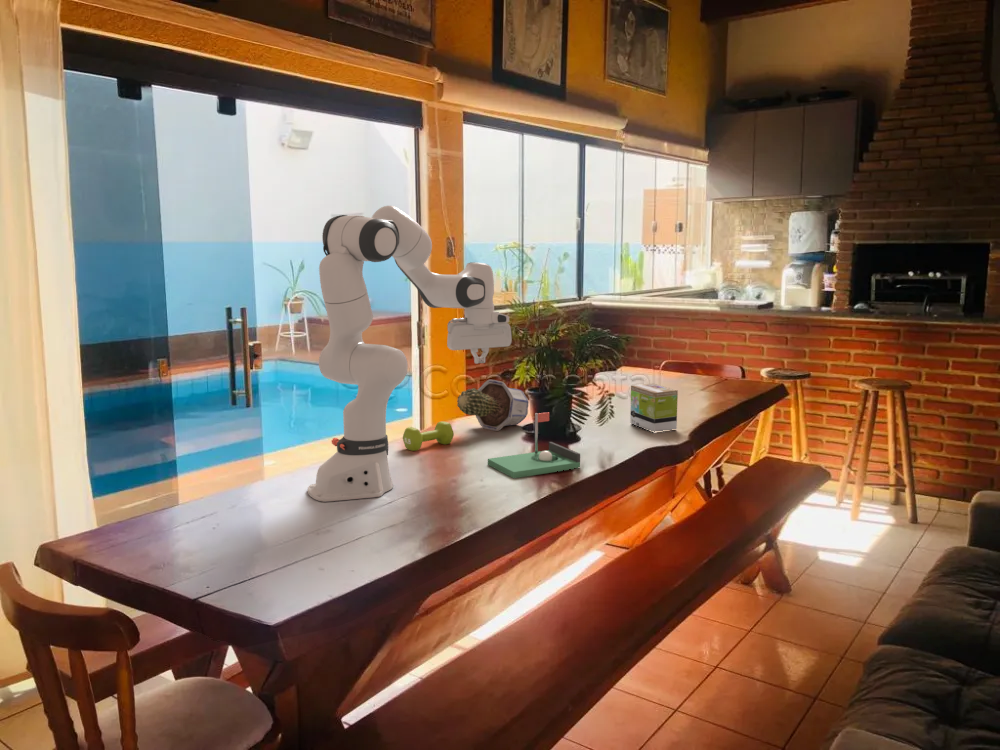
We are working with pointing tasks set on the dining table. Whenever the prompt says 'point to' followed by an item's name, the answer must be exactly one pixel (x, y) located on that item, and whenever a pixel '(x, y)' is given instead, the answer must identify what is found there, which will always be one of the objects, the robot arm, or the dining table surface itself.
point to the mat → (536, 462)
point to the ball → (545, 456)
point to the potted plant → (494, 405)
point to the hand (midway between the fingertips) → (479, 363)
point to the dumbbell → (427, 436)
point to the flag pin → (538, 418)
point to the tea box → (654, 407)
